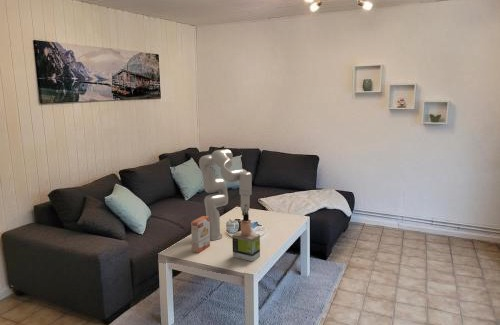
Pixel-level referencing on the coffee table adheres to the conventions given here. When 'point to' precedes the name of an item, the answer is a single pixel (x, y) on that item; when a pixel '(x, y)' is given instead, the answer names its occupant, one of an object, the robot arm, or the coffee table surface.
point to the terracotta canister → (245, 228)
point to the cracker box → (200, 234)
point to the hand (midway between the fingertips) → (245, 217)
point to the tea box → (246, 246)
